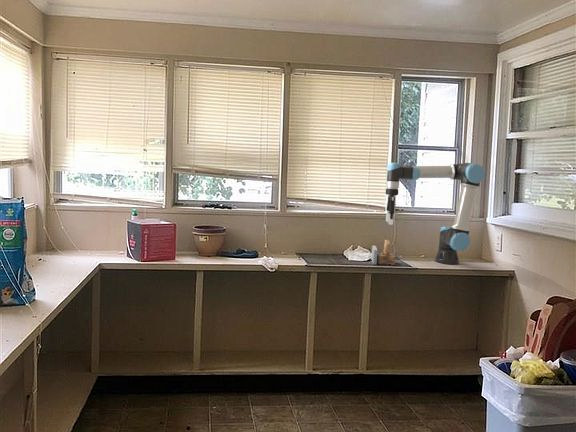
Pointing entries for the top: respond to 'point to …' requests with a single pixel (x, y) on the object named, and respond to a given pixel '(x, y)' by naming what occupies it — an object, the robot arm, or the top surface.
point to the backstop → (374, 255)
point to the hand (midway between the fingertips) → (389, 223)
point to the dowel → (386, 247)
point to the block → (385, 259)
